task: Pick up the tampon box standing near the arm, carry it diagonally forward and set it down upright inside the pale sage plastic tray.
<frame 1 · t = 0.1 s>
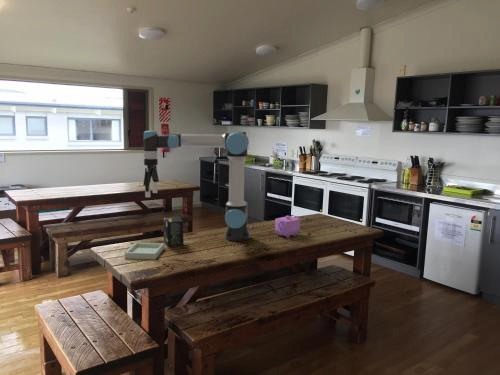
hand: (151, 195, 245), 28 cm above the table, fingers open, 13 cm apart
tray: (145, 253, 229), on the table
tampon box: (173, 244, 247), on the table
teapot: (289, 235, 269), on the table
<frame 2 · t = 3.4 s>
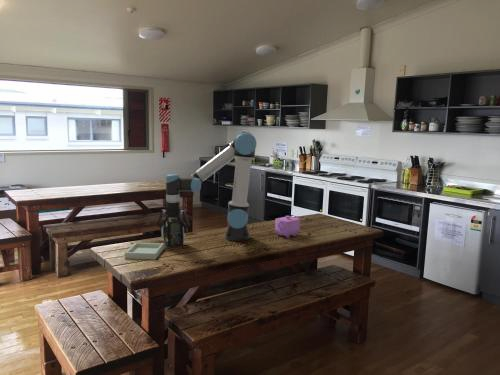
hand: (173, 238, 246), 3 cm above the table, fingers closed on tampon box, 11 cm apart
tampon box: (173, 244, 247), on the table, touching gripper
everything else where it was.
when the fingers open (6 cm above the table, at t = 11.0 s): tampon box drops 1 cm, resting on tray.
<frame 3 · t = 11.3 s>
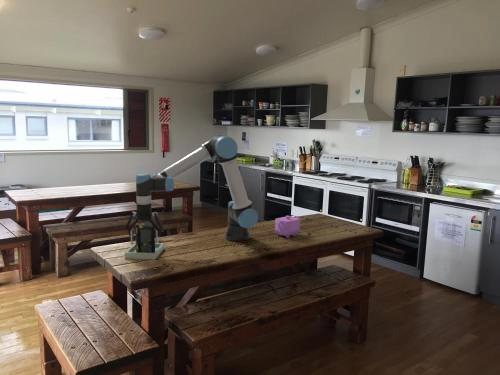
hand: (144, 242, 228), 6 cm above the table, fingers open, 13 cm apart
tampon box: (145, 251, 229), point 1 cm above the table, touching tray
everything else where it was.
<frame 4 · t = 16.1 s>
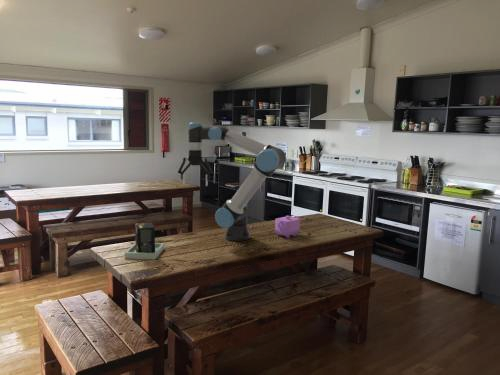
hand: (195, 185, 252), 33 cm above the table, fingers open, 13 cm apart
nothing on the table moved.
at the end: tampon box inside the target area on the tray (0.1 cm from its centre), point 0.8 cm above the tray's base; tampon box tilted 0°; the gripper is holding nothing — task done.
